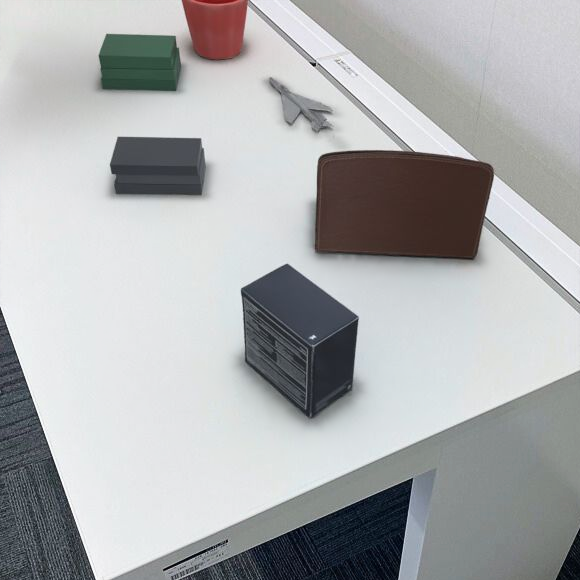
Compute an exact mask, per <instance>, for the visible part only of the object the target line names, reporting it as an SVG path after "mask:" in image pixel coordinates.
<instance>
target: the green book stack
mask: <svg viewBox="0 0 580 580" xmlns="http://www.w3.org/2000/svg"><path fill="white" fill-rule="evenodd" d="M181 69H182V60H181V54H180V47H177V50H176V55H175V59H174V64H173V68H172V70H159V69H121V68H101V67H100V74H101V78H100V81H101V82H100V83H101V88H102V90H132V91H134V90H135V91H174V92H176V91H177V89H178V83H179V80H180V74H181Z"/></svg>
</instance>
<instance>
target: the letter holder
mask: <svg viewBox="0 0 580 580" xmlns="http://www.w3.org/2000/svg"><path fill="white" fill-rule="evenodd" d="M494 179H495V169H494V167H493V165H492V164H490V163H488V162H485V161H481V160H475V159H470V158H465V157H461V156H456V155H448V154H439V153H431V152H423V151H411V150H410V151H408V150H392V149H391V150H390V149H389V150H386V149H356V150H341V151H331V152H326V153H323V154H321V155H320V156H319V157H318V158H317V166H316V198H315V199H316V202H315V222H314V223H315V225H314V227H315V230H314V233H315V234H314V250H315V252H316V253H338V254H339V253H340V254H342V253H343V254H344V253H345V254H367V255H388V256H407V257H429V258H449V259H469V260H470V259H471V260H475V259H476V257H477V254H478V251H479V246H480V241H481V236H482V233H483V232H482V231H483V227H484V223H485V217H486V213H487V210H488V205H489V200H490V196H491V192H492V188H493V184H494Z"/></svg>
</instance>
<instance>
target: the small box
mask: <svg viewBox="0 0 580 580" xmlns="http://www.w3.org/2000/svg"><path fill="white" fill-rule="evenodd" d="M240 295H241V303H242V320H243V337H244V339H243V340H244V362H245V363H246V364H247V365H248V366H249V367H250V368H251V369H253V370H254V371H255V372H256V373H257V374H259V375H260V377H262V378H263V379H264V380H265V381H266V382H267V383H269V385H270V386H272V387H273V388H274V389H275V390H277V391H278V392H279V393H280V394H282V396H283V397H285V398H286V399H287V400H288V401H289V402H290V403H291V404H292V405H294V407H296V408H297V409H299V410H300V411H301V412H302V413H303V414H304V415H305V416H307V417H308V418H309V419H310V418H314V417H315V416H317V415H318V414H319V413H320V412H322V411H323V410H324V409H325V408H327V407H328V406H330V405H331V404H333V403H334V402H336V401H337V400H339V399H340V398H342V397H343V396H345V395H346V394H347V393H348V392H350V391H351V390H352V389H353V386H354V374H355V361H356V353H357V352H356V350H357V340H358V339H357V338H358V330H359V320H360V316H359V315H358V314H356V313H355V312H353V311H352V310H351V309H349V308H348V307H347V306H345V305H344V304H343V303H341V302H340V301H338V300H337V299H336V298H335V297H333V296H332V295H330V294H329V293H328V292H327V291H325V290H324V289H323V288H322V287H320V286H318V285H317V284H316V283H314V282H313V281H312V280H310V279H309V278H308V277H307V276H305V275H304V274H302V273H301V272H300V271H298V270H297V269H296V268H295V267H293V266H292V265H290V264H289V263H285V264H282V265H281V266H279V267H277V268H275V269H273V270H272V271H270V272H268V273H266V274H264V275H262V276H261V277H259V278H257V279H256V280H254V281H252V282H250V283H248V284H246V285H244V286H243V287H241V288H240Z"/></svg>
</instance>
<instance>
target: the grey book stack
mask: <svg viewBox="0 0 580 580" xmlns="http://www.w3.org/2000/svg"><path fill="white" fill-rule="evenodd" d="M115 141H116V142H115V144H114V147H113V148H114V149H113V152H112V155H111V159H110V163H109V168H110V172H111V175H114V176H115V179H114V182H113V187H114V191H115V194H116V195H167V196H168V195H169V196H170V195H171V196H173V195H175V196H176V195H177V196H178V195H179V196H183V195H184V196H188V195H189V196H202V195H203V189H204V182H205V176H206V169H207V168H206V167H207V166H206V165H207V164H206V156H205V148H204V147H203V143H202V141H203V140H202V137H162V136H161V137H159V136H156V137H155V136H153V137H152V136H117V137H116V140H115Z"/></svg>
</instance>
